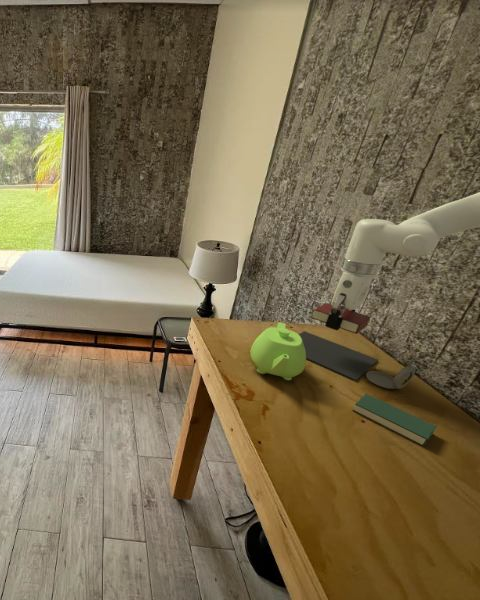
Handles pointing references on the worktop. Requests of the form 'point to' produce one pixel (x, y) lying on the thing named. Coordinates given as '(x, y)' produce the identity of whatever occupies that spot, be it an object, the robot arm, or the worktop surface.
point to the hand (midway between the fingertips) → (338, 323)
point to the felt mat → (336, 356)
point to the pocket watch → (389, 381)
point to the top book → (350, 319)
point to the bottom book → (395, 419)
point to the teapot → (279, 352)
